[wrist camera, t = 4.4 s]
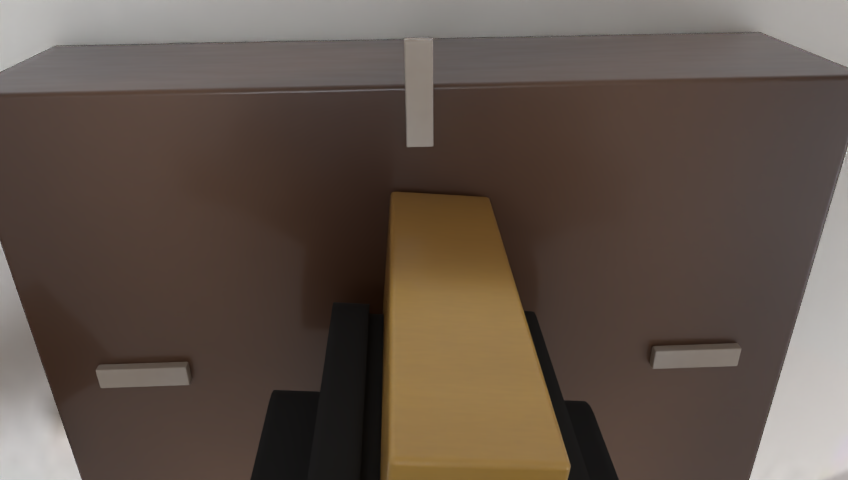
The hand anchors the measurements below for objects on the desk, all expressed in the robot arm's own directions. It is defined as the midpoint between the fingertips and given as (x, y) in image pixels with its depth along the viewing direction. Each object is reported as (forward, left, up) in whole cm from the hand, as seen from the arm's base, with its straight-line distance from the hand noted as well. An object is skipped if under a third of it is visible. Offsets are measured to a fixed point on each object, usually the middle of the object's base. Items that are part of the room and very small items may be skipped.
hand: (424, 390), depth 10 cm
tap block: (0, 0, -4) cm, 4 cm away
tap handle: (0, 0, -1) cm, 1 cm away
